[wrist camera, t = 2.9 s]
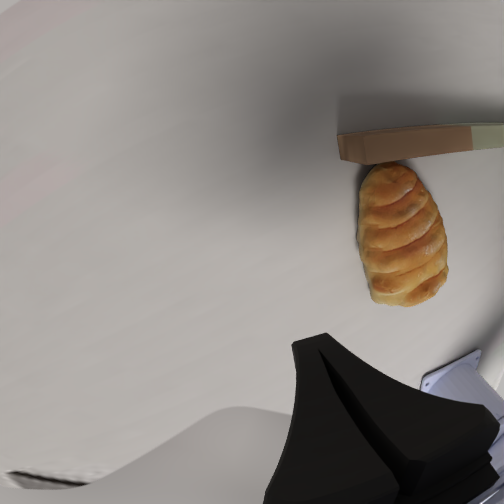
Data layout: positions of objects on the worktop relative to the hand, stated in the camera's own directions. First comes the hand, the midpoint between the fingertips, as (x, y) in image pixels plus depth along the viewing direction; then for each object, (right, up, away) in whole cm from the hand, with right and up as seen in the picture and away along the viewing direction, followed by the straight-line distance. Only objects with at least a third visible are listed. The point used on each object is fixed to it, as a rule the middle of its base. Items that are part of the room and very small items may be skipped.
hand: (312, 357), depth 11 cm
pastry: (+7, +5, +10) cm, 13 cm away
